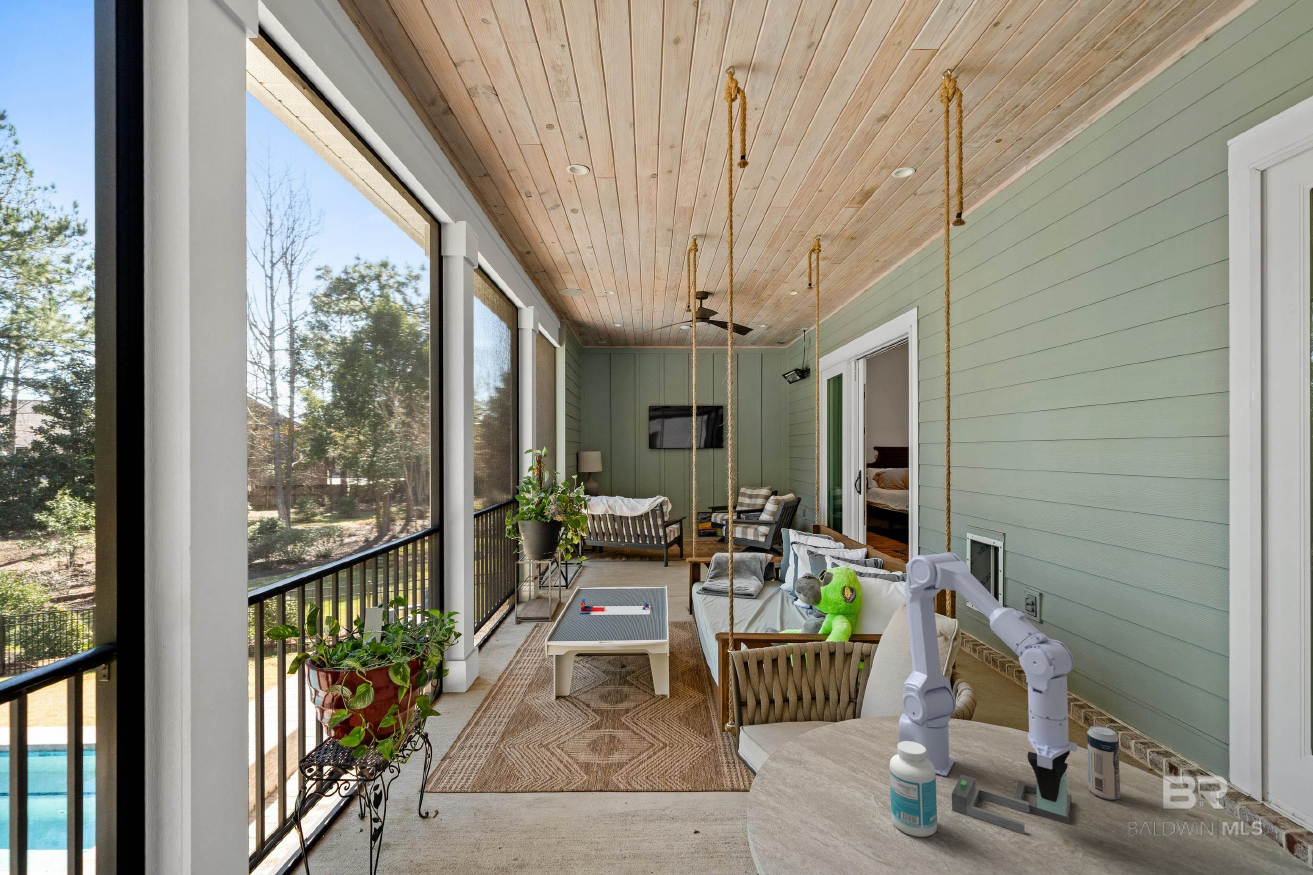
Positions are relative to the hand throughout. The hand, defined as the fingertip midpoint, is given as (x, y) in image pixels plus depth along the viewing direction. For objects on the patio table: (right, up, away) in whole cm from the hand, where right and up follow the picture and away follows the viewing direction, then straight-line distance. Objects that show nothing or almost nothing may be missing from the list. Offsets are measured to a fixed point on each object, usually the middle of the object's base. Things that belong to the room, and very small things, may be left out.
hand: (1050, 793), depth 102 cm
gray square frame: (+3, -7, +7) cm, 10 cm away
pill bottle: (-23, -7, +1) cm, 24 cm away
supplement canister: (+17, -7, +10) cm, 21 cm away
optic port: (-7, -7, +5) cm, 11 cm away
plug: (0, -2, 0) cm, 2 cm away
